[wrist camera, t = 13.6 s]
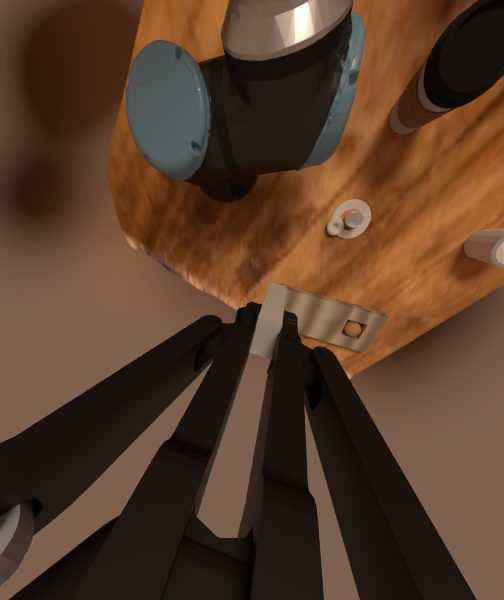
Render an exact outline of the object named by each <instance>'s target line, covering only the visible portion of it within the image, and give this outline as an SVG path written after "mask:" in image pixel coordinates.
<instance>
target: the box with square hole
mask: <svg viewBox="0 0 504 600" xmlns="http://www.w3.org/2000/svg"><path fill="white" fill-rule="evenodd" d="M279 285H282V284H279ZM283 286H285V285H283ZM284 310H285V311H288V312H292V313H295V314H296V316H297V317H298V333H299V334H302V335H305V336H309V337H312V338H315V339H319V340H322V341H325V342H328V343H332V344H335V345H338V346H342V347H345V348H348V349H352V350H355V351H358V352H362V353H365V354H366V352H367V351H368V349H369V347H370V346H371V344H372V343H373V341H374V340H375V338H376V337H377V335H378V334H379V332H380V331H381V329H382V328H383V326H384V325H385V323H386V321H387V320H388V318H389V317H388V316H387V315H386V314H385V313H383V312H379V311H376V310H372V309H369V308H365V307H361V306H358V305H354V304H350V303H347V302H343V301H340V300H336V299H332V298H329V297H325V296H322V295H318V294H314V293H311V292H307V291H303V290H300V289H296V288H293V287H289V286H287V287H286V296H285V305H284ZM347 320H352V321H355V322H359V323H362V325H361V332H360V333H359V334H358V335H357V336H349V335H348V334H346V333H345V331H342V330H343V328H344V326H345V324H346V322H347Z"/></svg>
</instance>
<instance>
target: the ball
mask: <svg viewBox="0 0 504 600" xmlns="http://www.w3.org/2000/svg"><path fill="white" fill-rule="evenodd" d="M344 331H345V333H346V334H348V335H349V336H357V335H358V334H359V333H360V332H361V327H360V325H359V324H358V323H357V322H355V321H349V322H347V323H346V324H345V326H344Z"/></svg>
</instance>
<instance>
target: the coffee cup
mask: <svg viewBox="0 0 504 600" xmlns="http://www.w3.org/2000/svg"><path fill="white" fill-rule="evenodd" d="M503 75H504V0H478V1H477V2H476V3H474V4H473V5H471V6H470V7H469V8H468V9H466V10H465V11H464V12H462V13H461V14H460V15H459V16H458V17H457V18H456V19H455V20H454V21H453V22H452V23H450V25H449V26H448V27H447V28H446V30H445V31H444V32H443V33H442V35H441V36H440V37H439V39H438V40H437V42H436V43H435V45H434V47H433V48H432V51H431V53H430V54H429V55H428V57H427V58H426V59H425V61H424V62H423V64H422V65H421V67H420V68H419V70H418V71H417V73H416V74H415V76H414V77H413V78H412V80H411V81H410V83H409V84H408V86H407V87H406V89H405V90H404V92H403V93H402V95H401V96H400V97H399V99H398V100H397V101H396V103H395V105H394V106H393V108H392V110H391V113H390V119H389V121H390V127H391V129H392V130H393V131H394V132H395V133H397V134H407V133H410V132H412V131H414V130H416V129H417V128H419V127H421V126H423V125H425V124H427V123H429V122H431V121H433V120H435V119H437V118H438V117H440V116H442V115H444V114H446V113H448V112H450V111H452V110H454V109H456V108H457V107H460V106H463V105H465V104H467V103H470V102H471V101H473V100H474V99H476V98H478V97H479V96H480V95H482V94H483V93H485V92H486V91H487V90H488V89H490V88H491V87H492V86H493V85H494V84H495V83H496V82H497V81H498V80H499V79H500V78H501V77H502V76H503Z"/></svg>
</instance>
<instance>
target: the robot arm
mask: <svg viewBox="0 0 504 600" xmlns="http://www.w3.org/2000/svg"><path fill="white" fill-rule="evenodd" d="M352 6H353V0H229V3H228V7H227V11H226V14H225V18H224V22H223V26H222V30H221V39H222V44H223V49H224V53H225V55H223V56H219V57H216V58H212V59H209V60H205V61H202V62H199V63H196V61H195V60H194V58H193V57H192V56H191V55H190V54H189V53H188V52H187V51H185V50H183V49H182V48H180V47H179V46H178V45H176V44H174V43H172V42H170V41H164V40H157V41H154V42H151V43H149V44H148V45H146V46H145V47H144V48H143V49H142V50H141V51H140V52H139V53H138V55H137V56H136V58H135V60H134V62H133V64H132V66H131V69H130V72H129V84H128V87H127V88H126V109H127V117H128V122H129V126H130V130H131V133H132V136H133V138H134V141H135V143H136V145H137V147H138V149H139V150H140V152H141V154H142V155H143V156H144V158H145V159H146V160H147V161H148V162H149V163H150V164H151V165H152V166H153V167H154V168H155V169H156V170H158V171H159V172H161V173H163V174H165V175H167V176H168V177H170V178H173V179H174V180H182V181H185V182H188V183H191V184H195V185H198V186H199V187H200V188H201V189H202V191H203V192H204V193H205V194H207V195H208V196H209V197H211V198H213V199H215V200H218V201H222V202H234V201H237V200H239V199H241V198H243V197H244V196H245V195H246V194H248V192H249V191H250V190H251V189H252V187H253V186H254V184H255V182H256V179H257V176H258V175H260V174H267V173H275V172H282V171H289V170H296V171H299V170H302V169H304V168H306V167H311V166H316V165H320V164H322V163H324V162H326V161H327V160H328V159H329V158H330V157H331V156H332V155H333V153H334V152H335V150H336V148H337V146H338V144H339V142H340V140H341V137H342V135H343V132H344V130H345V127H346V124H347V121H348V117H349V114H350V111H351V107H352V103H353V100H354V96H355V91H356V87H355V83H356V80H357V77H358V74H359V71H360V67H361V61H362V55H363V47H364V23H363V20H362V17H360V16H357V15H356V14H354V13H351V11H352ZM286 287H287V286H283V285H279V284H275V283H272V282H271V283H270V285H269V288H268V291H267V294H266V297H265V299H264V302H263V305H262V304H258V303H255V302H249V303H247V305H246V307H242V308H239V309H238V310H237V315H236V321H235V323H231V324H225V323H222V320H221V319H220V318H219V317H217V316H214V315H206V316H204V317H201V318H200V319H198V320H197V321H195V322H194V323H192V324H190V325H189V326H187V327H186V328H184V329H183V330H181V331H179V332H178V333H176V334H175V335H173V336H172V337H170V338H169V339H167V340H165V341H164V342H163V343H161V344H159V345H158V346H156V347H154V348H153V349H151V350H150V351H149V352H147V353H145V354H143V355H142V356H140V357H139V358H137V359H136V360H134V361H132V362H131V363H129V364H128V365H126V366H125V367H123V368H121V369H120V370H118V371H117V372H115V373H114V374H112V375H111V376H109V377H108V378H106V379H104V380H103V381H101V382H100V383H98V384H96V385H95V386H93V387H92V388H90V389H89V390H87V391H85V392H84V393H82V394H81V395H79V396H78V397H76V398H74V399H73V400H71V401H70V402H68V403H67V404H65V405H64V406H62V407H60V408H59V409H57V410H56V411H54V412H53V413H51V414H50V415H48V416H46V417H45V418H43V419H42V420H40V421H39V422H37V423H35V424H34V425H32V426H31V427H29V428H27V429H26V430H24V431H23V432H21V433H20V434H18V435H17V436H15V437H13V438H11V439H8V440H6V441H4V442H2V443H0V586H1V585H2V584H3V583H4V582H5V581H6V580H8V579H9V578H10V577H11V576H12V574H13V573H14V572H15V571H16V570H17V569H18V567H19V565H20V563H21V562H22V560H23V558H24V555H25V554H26V552H27V551H28V548H29V546H30V544H31V541H32V539H33V535H35V534H36V533H37V532H38V531H40V530H41V529H42V528H44V527H45V526H46V525H48V524H49V523H50V522H51V521H52V520H54V519H55V518H56V517H57V516H58V515H59V514H60V513H62V512H63V511H64V510H65V509H67V508H68V507H69V506H70V505H71V504H72V503H73V502H74V501H75V500H76V499H77V498H78V497H79V496H80V495H81V494H83V493H84V492H85V491H86V490H87V489H88V488H89V487H90V486H91V485H92V484H93V483H94V481H96V480H97V479H98V478H99V477H100V476H101V474H103V473H104V471H105V470H107V469H108V467H109V466H110V465H111V464H112V463H113V462H114V461H115V460H116V459H117V458H118V457H119V456H120V455H121V454H122V453H123V452H124V451H125V450H126V449H127V448H128V447H129V446H130V445H131V444H132V443H133V442H134V441H135V440H136V439H137V438H138V437H139V436H140V435H141V434H142V433H143V432H144V430H146V429H147V428H148V426H150V425H151V423H153V421H155V419H156V418H157V417H158V416H159V415H160V414H161V413H162V412H163V411H164V410H165V409H166V408H167V407H168V406H169V405H170V404H171V403H172V402H173V401H174V400H175V399H176V398H177V397H178V396H179V395H180V394H181V393H182V392H183V391H184V390H185V389H186V388H187V387H188V386H189V385H190V384H191V383H192V382H193V380H195V379H196V378H197V377H198V376H199V374H200V373H202V371H203V370H204V369H205V368H206V367H207V366H208V365H209V364H210V363H211V362H212V361H213V360H214V361H213V362H212V364H211V366H210V368H209V370H208V371H207V373H206V375H205V377H204V379H203V381H202V383H201V384H200V386H199V388H198V390H197V391H196V393H195V395H194V397H193V399H192V400H191V402H190V404H189V406H188V408H187V410H186V411H185V413H184V415H183V417H182V419H181V420H180V422H179V424H178V426H177V428H176V430H175V431H174V433H173V435H172V437H171V438H170V439H169V440H167V441H165V442H164V443H163V444H162V445H161V446H160V448H159V450H158V451H157V453H156V454H155V456H154V458H153V459H152V461H151V463H150V464H149V466H148V468H147V470H146V471H145V473H144V475H143V477H142V478H141V480H140V482H139V483H138V485H137V487H136V489H135V490H134V492H133V494H132V496H131V497H130V499H129V501H128V503H127V504H126V506H125V508H124V509H123V511H122V513H121V515H119V516H117V517H116V518H114V519H112V520H111V521H109V522H108V523H106V524H105V525H103V526H102V527H101V528H99V529H98V530H97V531H96V532H94V533H93V534H92V535H91V536H89V537H88V538H87V539H85V540H84V541H83V542H82V543H80V544H79V545H78V546H76V547H75V548H74V549H73V550H71V551H70V552H69V553H68V554H66V555H65V556H64V557H62V558H61V559H60V560H59V561H57V562H56V563H55V564H53V565H52V566H51V567H50V568H48V569H47V570H46V571H45V572H43V573H42V574H41V575H40V576H38V577H37V578H36V579H35V580H33V581H32V582H31V583H29V584H28V585H27V586H25V587H24V588H23V589H22V590H20V591H19V592H18V593H16V594H15V595H14V596H13V597H11V598H10V599H9V600H324V595H323V582H322V568H321V555H320V541H319V527H318V516H317V508H316V504H315V500H314V497H313V496H312V495H311V493H310V492H309V488H308V480H307V457H306V434H305V412H304V405H305V408H306V412H307V415H308V418H309V422H310V426H311V429H312V433H313V436H314V440H315V443H316V446H317V450H318V454H319V457H320V460H321V464H322V468H323V471H324V475H325V478H326V482H327V486H328V489H329V493H330V496H331V499H332V503H333V507H334V510H335V514H336V517H337V521H338V524H339V528H340V531H341V535H342V538H343V542H344V545H345V548H346V552H347V556H348V559H349V562H350V566H351V570H352V573H353V577H354V580H355V584H356V587H357V591H358V594H359V598H360V600H477V599H476V598H475V596H474V594H473V593H472V591H471V589H470V587H469V586H468V584H467V582H466V581H465V579H464V577H463V575H462V574H461V572H460V570H459V568H458V567H457V565H456V563H455V562H454V560H453V558H452V556H451V555H450V553H449V551H448V549H447V548H446V546H445V544H444V542H443V541H442V539H441V537H440V536H439V534H438V532H437V530H436V529H435V527H434V525H433V523H432V522H431V520H430V518H429V517H428V515H427V513H426V511H425V510H424V508H423V506H422V504H421V503H420V501H419V499H418V498H417V496H416V494H415V492H414V491H413V489H412V487H411V485H410V484H409V482H408V480H407V479H406V477H405V475H404V473H403V472H402V470H401V468H400V467H399V465H398V463H397V461H396V460H395V458H394V456H393V454H392V453H391V451H390V449H389V447H388V446H387V444H386V442H385V441H384V439H383V437H382V435H381V434H380V432H379V430H378V428H377V427H376V425H375V423H374V422H373V420H372V418H371V416H370V415H369V413H368V411H367V409H366V408H365V406H364V404H363V403H362V401H361V399H360V397H359V396H358V394H357V392H356V390H355V389H354V387H353V386H352V384H351V382H350V380H349V378H348V377H347V375H346V373H345V371H344V370H343V368H342V366H341V365H340V363H339V361H338V359H337V358H336V356H335V355H334V353H333V352H331V351H330V350H329V349H327V348H324V347H315V348H314V349H313V350H312V349H310V348H308V347H307V346H305V345H304V344H302V343H301V338H300V337H299V335H298V317H297V316H296V314H295V313H292V312H288V311H285V310H284V305H285V296H286ZM249 352H250V353H253V354H256V355H260V356H263V357H266V358H269V359H271V357H272V359H271V362H270V365H269V367H268V370H267V373H268V377H267V382H266V388H265V393H264V400H263V405H262V411H261V417H260V422H259V428H258V434H257V440H256V445H255V451H254V457H253V463H252V468H251V475H250V481H249V486H248V491H247V498H246V503H245V508H244V512H243V516H242V519H241V523H240V528H239V534H238V538H219V537H217V536H216V535H215V534H213V532H212V531H210V530H209V529H208V528H207V527H206V526H205V525H204V524H203V523H202V522H201V521H200V520H199V519H198V518H197V515H198V511H199V508H200V505H201V502H202V498H203V495H204V491H205V488H206V485H207V482H208V478H209V475H210V472H211V469H212V466H213V463H214V460H215V457H216V454H217V451H218V448H219V445H220V441H221V438H222V435H223V432H224V429H225V426H226V423H227V420H228V417H229V414H230V411H231V407H232V405H233V402H234V399H235V395H236V392H237V389H238V386H239V383H240V380H241V377H242V374H243V371H244V368H245V365H246V362H247V358H248V355H249Z"/></svg>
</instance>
